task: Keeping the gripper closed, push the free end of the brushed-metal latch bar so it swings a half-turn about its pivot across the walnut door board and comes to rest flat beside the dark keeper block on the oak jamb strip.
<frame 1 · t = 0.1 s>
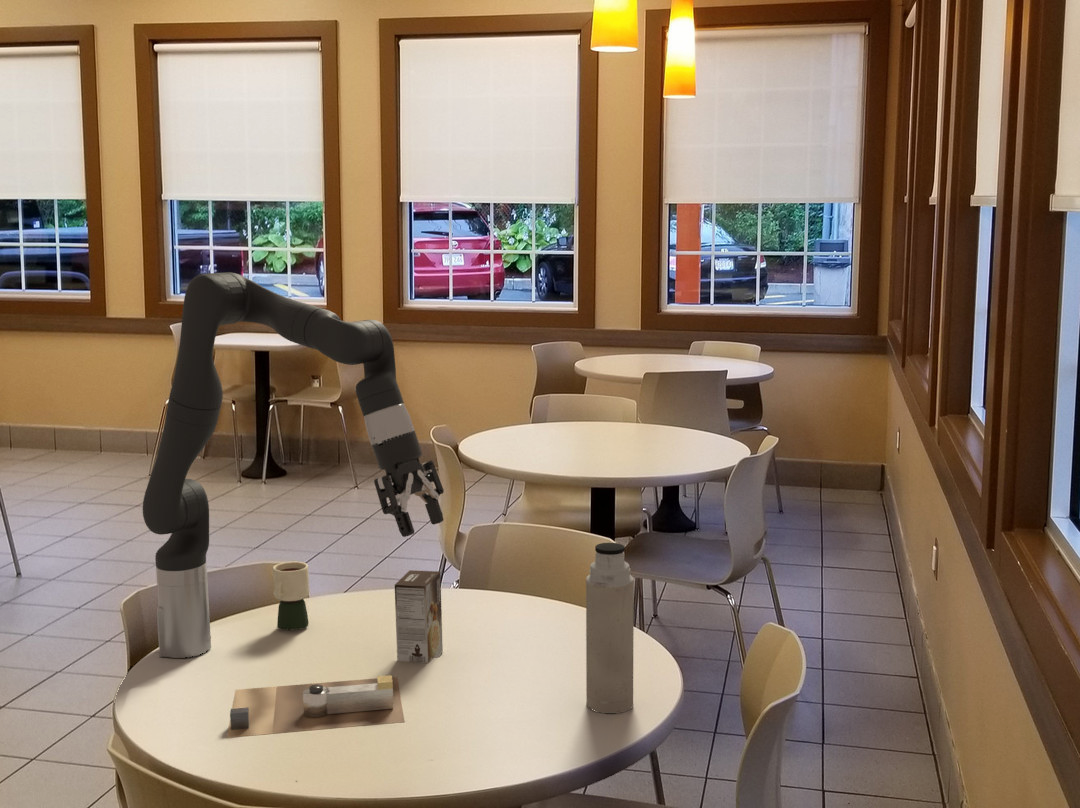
hand: (423, 529, 190), 31 cm above the table, tool tilted 20°, fingers open, 8 cm apart
keeper block: (240, 726, 186), resting on door board
character mug: (293, 629, 234), on the table
door board: (317, 711, 194), on the table
coffee box: (420, 660, 217), on the table
latch bar: (348, 695, 191), point 4 cm above the table, hinge at 0.0°
thermos bottle: (609, 705, 196), on the table
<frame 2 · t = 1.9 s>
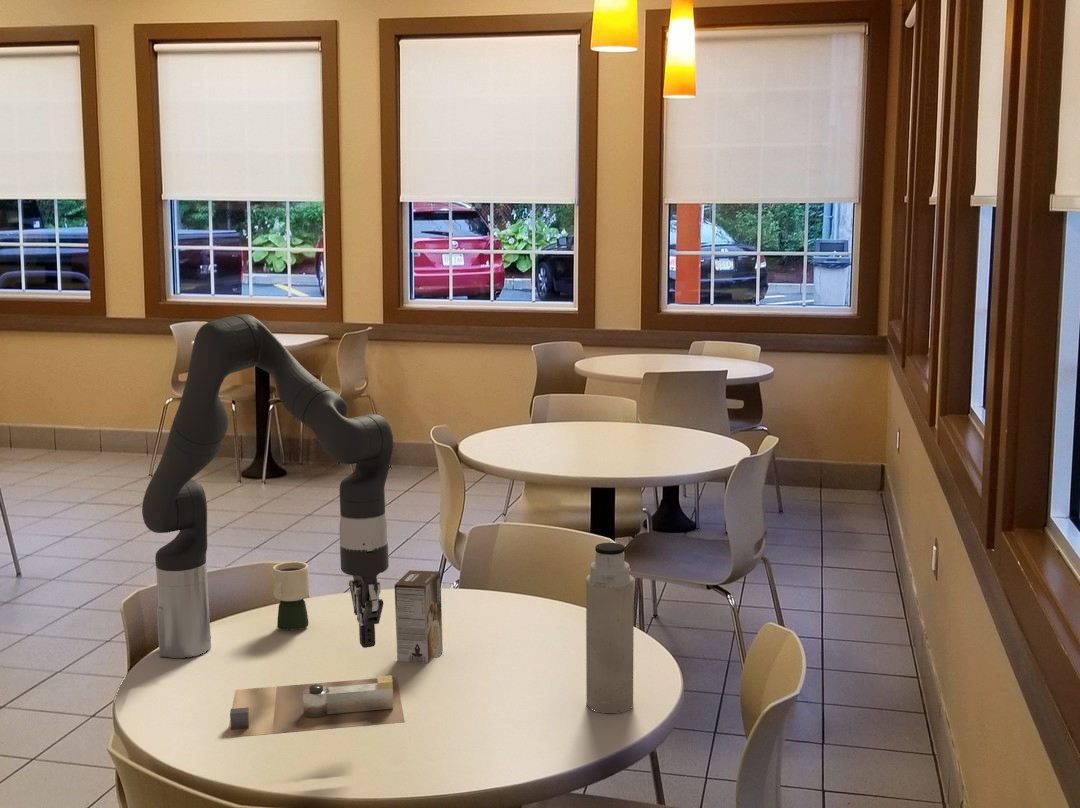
hand: (367, 645, 184), 14 cm above the table, tool pointing down, fingers closed
nothing on the table moved.
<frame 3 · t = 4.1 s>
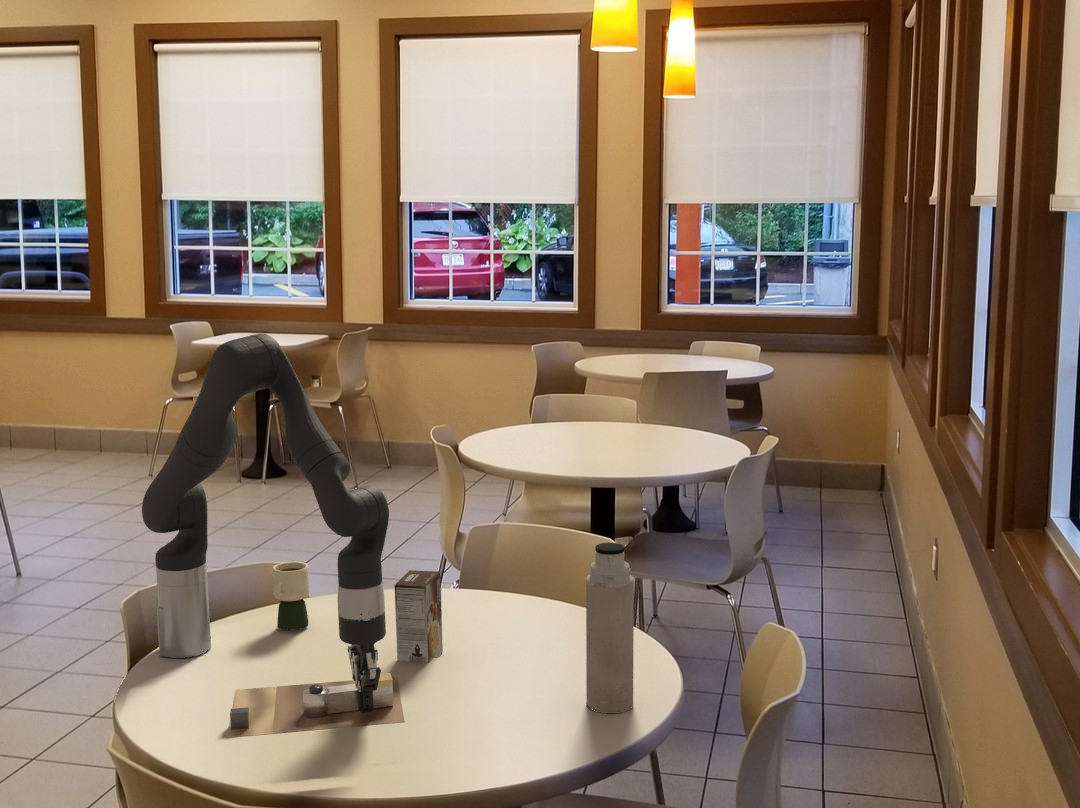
hand: (365, 710, 189), 2 cm above the table, tool pointing down, fingers closed
latch bar: (347, 694, 192), point 4 cm above the table, hinge at 5.1°, touching gripper
everything else where it was.
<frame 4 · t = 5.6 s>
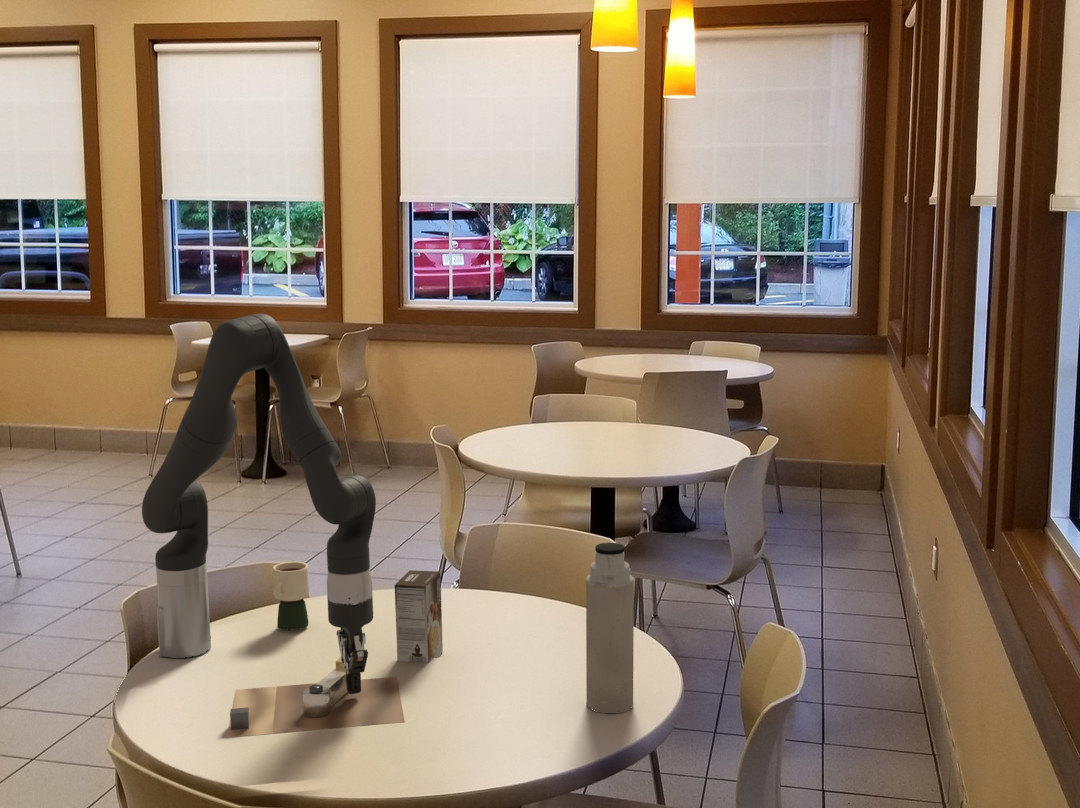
hand: (354, 692, 196), 2 cm above the table, tool pointing down, fingers closed
latch bar: (330, 686, 195), point 4 cm above the table, hinge at 63.1°, touching gripper
everything else where it was.
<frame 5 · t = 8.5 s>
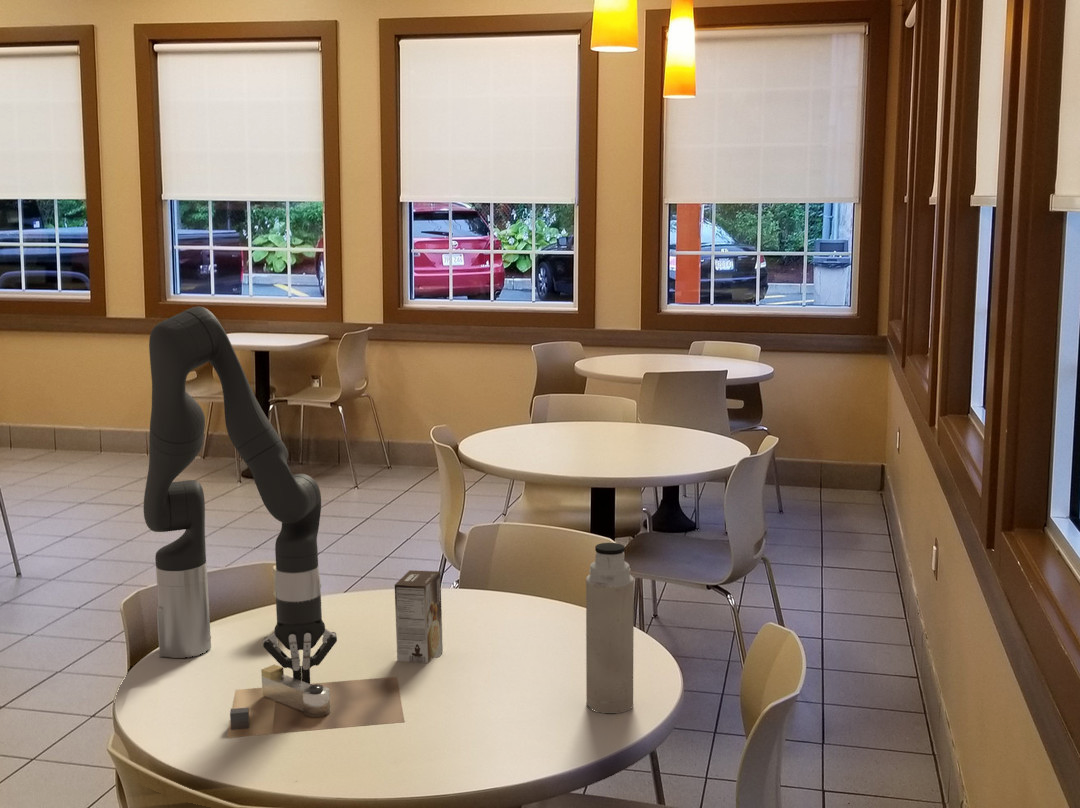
hand: (302, 688, 198), 2 cm above the table, tool pointing down, fingers closed
latch bar: (296, 690, 193), point 4 cm above the table, hinge at 130.9°, touching gripper
everything else where it was.
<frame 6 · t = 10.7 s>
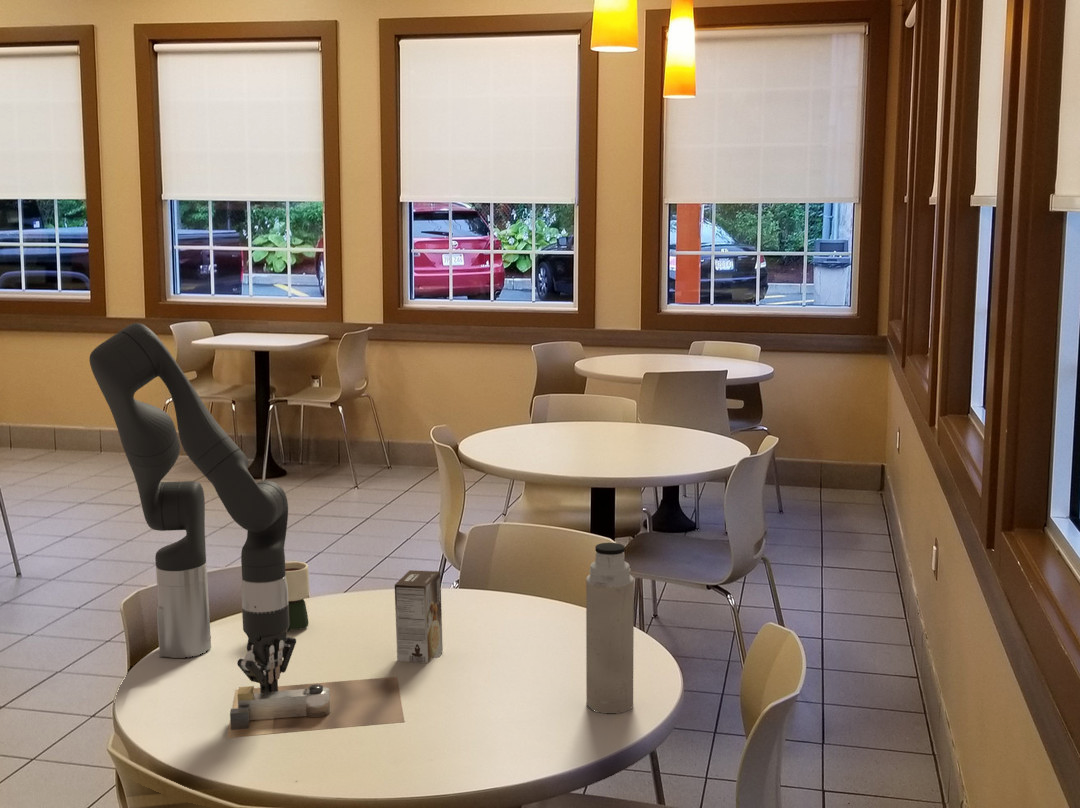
hand: (269, 701, 193), 2 cm above the table, tool pointing down, fingers closed
latch bar: (284, 700, 189), point 4 cm above the table, hinge at 179.1°, touching gripper
everything else where it was.
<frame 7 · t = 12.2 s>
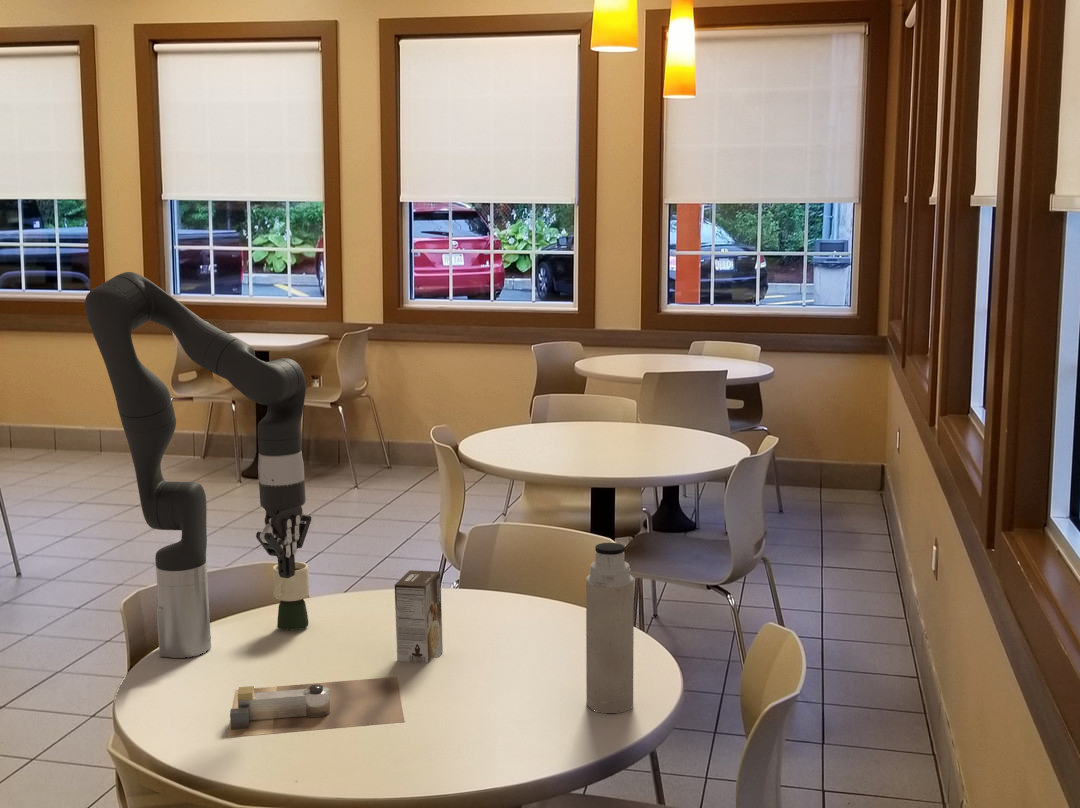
hand: (287, 576, 196), 22 cm above the table, tool pointing down, fingers closed
latch bar: (284, 700, 189), point 4 cm above the table, hinge at 179.1°
everything else where it was.
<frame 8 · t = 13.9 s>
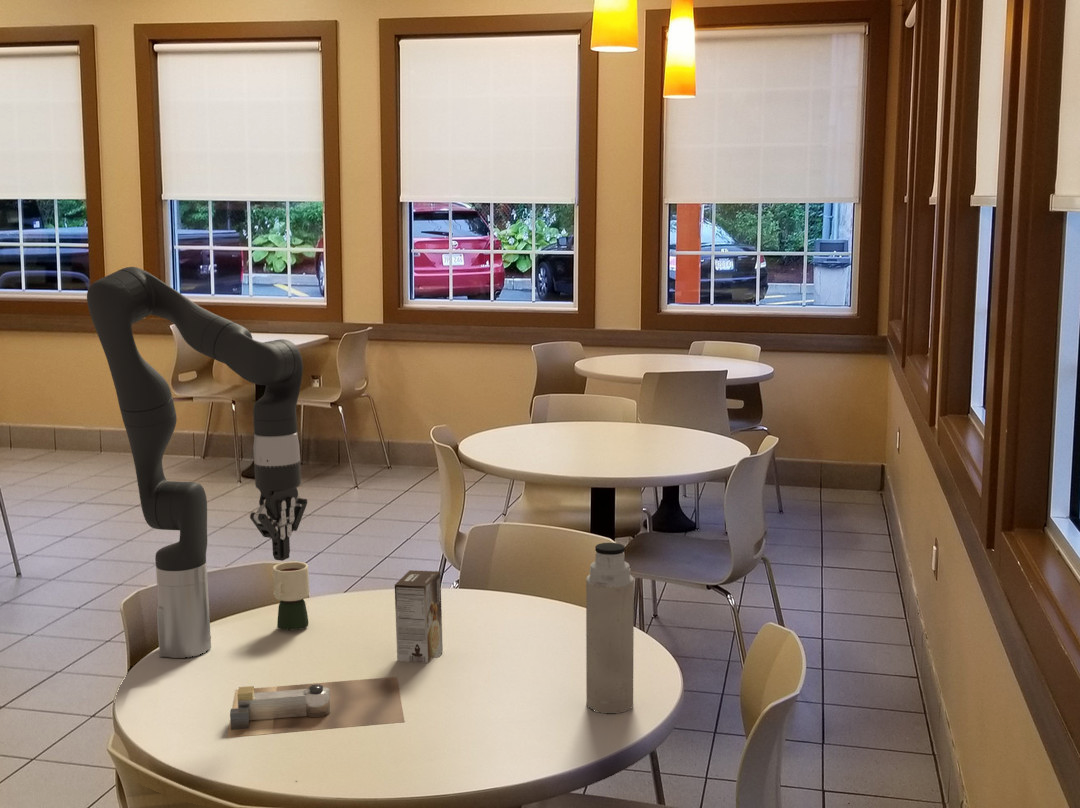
hand: (281, 558, 196), 25 cm above the table, tool pointing down, fingers closed
nothing on the table moved.
at the end: latch bar at +179° (first picture: +0°); latch bar touching nothing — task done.
